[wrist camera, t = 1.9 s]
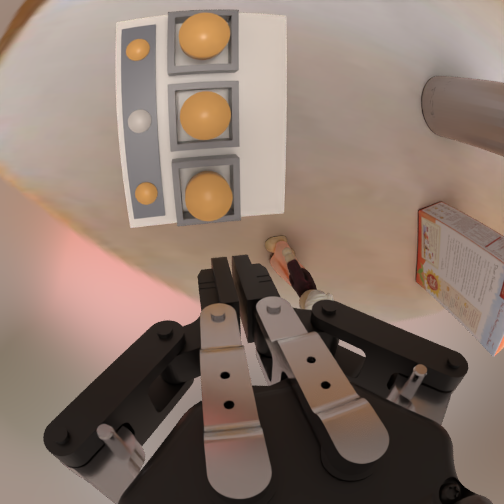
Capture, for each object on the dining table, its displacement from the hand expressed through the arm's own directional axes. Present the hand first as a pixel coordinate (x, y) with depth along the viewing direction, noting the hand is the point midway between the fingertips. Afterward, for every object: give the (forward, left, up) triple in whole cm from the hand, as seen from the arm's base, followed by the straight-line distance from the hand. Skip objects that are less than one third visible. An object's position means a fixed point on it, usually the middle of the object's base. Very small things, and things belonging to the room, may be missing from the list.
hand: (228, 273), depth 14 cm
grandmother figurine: (-9, +10, -19) cm, 23 cm away
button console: (0, -7, -19) cm, 20 cm away
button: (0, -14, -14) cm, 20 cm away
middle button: (0, -7, -14) cm, 15 cm away
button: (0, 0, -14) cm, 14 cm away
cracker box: (-35, +11, -19) cm, 41 cm away
